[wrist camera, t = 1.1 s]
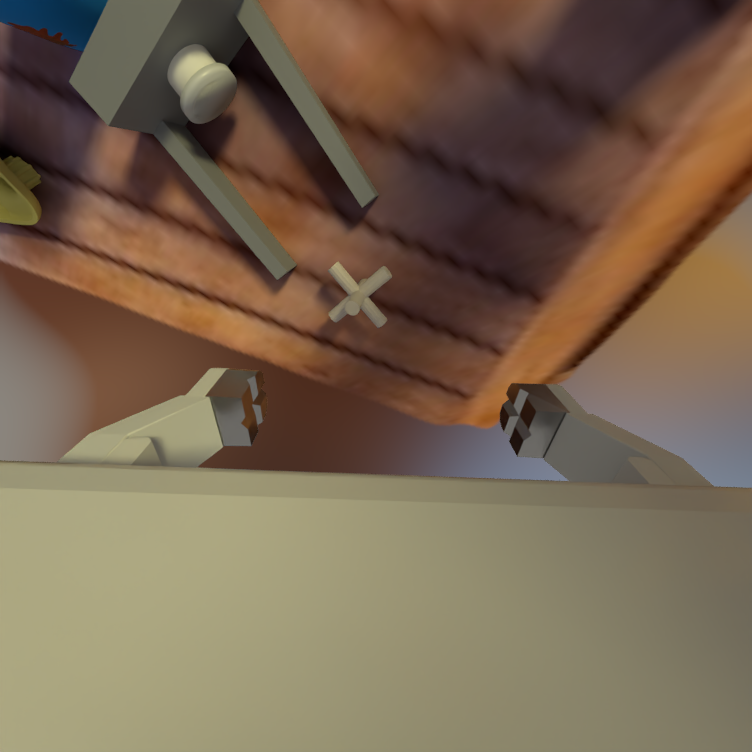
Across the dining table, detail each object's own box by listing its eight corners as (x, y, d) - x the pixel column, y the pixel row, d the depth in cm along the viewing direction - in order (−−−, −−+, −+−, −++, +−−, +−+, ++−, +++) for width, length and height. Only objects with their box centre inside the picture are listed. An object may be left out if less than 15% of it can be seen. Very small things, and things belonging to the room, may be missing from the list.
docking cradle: (236, -35, 30) (165, -118, 22) (379, 195, 39) (368, 198, 31) (148, 104, 37) (68, 81, 28) (287, 272, 46) (258, 293, 37)
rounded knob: (194, 7, 31) (146, -30, 25) (246, 82, 33) (213, 63, 28) (161, 61, 33) (111, 38, 28) (211, 127, 36) (175, 118, 30)
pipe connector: (362, 328, 49) (350, 359, 41) (318, 279, 46) (295, 301, 37) (412, 290, 45) (410, 315, 37) (367, 233, 42) (354, 245, 33)
